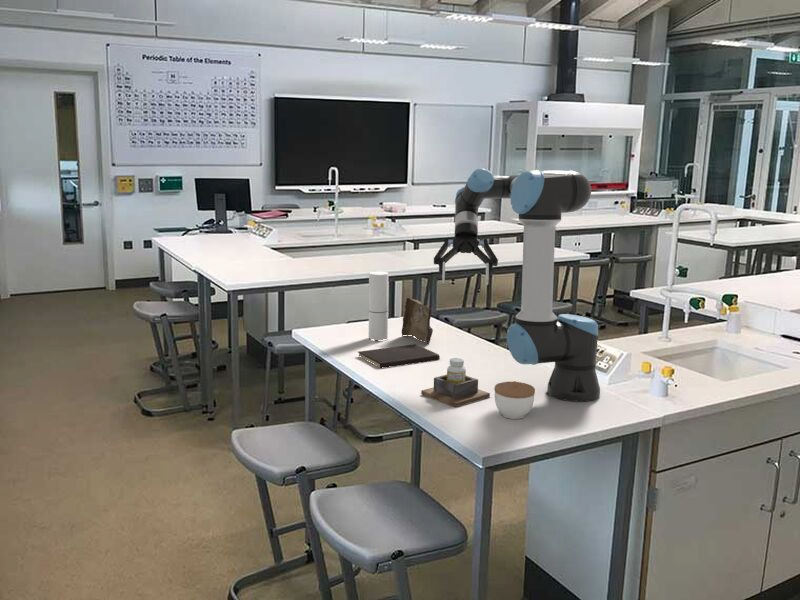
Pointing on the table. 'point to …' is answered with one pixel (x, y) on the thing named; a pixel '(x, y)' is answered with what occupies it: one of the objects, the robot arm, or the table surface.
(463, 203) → the robot arm
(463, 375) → the supplement bottle
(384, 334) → the cylindrical container
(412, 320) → the mineral sample
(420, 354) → the hardcover book
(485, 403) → the table surface
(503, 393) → the lidded jar
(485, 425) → the table surface
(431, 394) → the wooden square holder
